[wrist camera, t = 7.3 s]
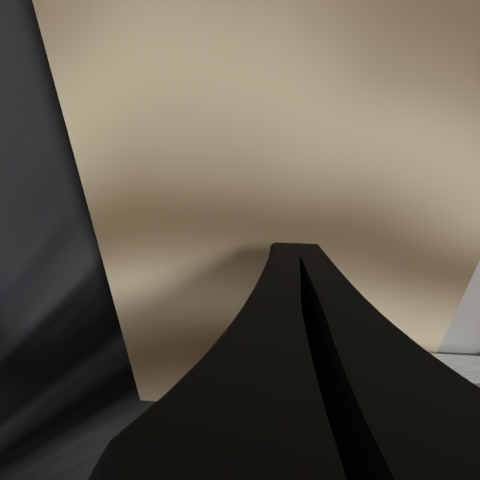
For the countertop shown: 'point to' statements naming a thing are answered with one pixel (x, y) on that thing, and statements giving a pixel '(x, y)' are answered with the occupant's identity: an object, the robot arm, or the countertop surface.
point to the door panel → (270, 155)
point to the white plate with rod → (465, 323)
